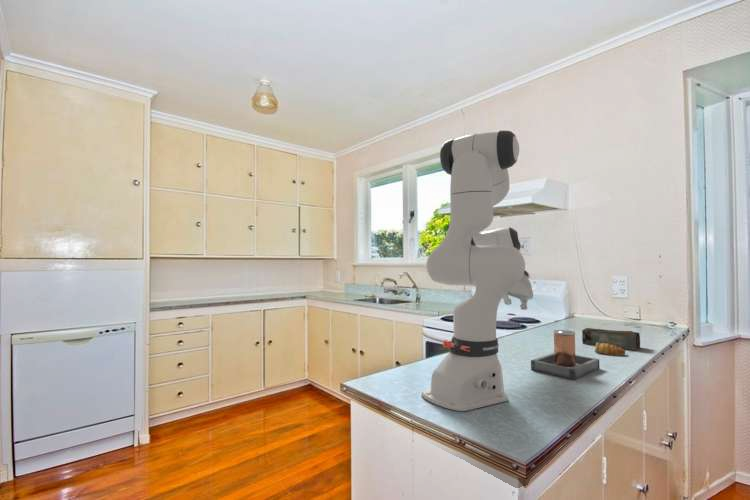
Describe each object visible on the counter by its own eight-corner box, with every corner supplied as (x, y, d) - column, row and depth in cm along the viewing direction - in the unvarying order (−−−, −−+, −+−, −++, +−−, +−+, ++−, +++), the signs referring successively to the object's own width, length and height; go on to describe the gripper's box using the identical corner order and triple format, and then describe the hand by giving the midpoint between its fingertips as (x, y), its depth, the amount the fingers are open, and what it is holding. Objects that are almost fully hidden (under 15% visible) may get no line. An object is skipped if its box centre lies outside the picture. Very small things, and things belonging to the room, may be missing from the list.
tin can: (570, 370, 111) (569, 334, 111) (550, 365, 115) (550, 331, 116) (579, 366, 114) (578, 331, 115) (559, 362, 119) (558, 329, 120)
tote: (573, 380, 104) (573, 369, 104) (531, 369, 114) (530, 360, 114) (599, 368, 115) (599, 359, 115) (558, 360, 125) (558, 351, 125)
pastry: (625, 353, 134) (625, 343, 134) (625, 358, 128) (624, 347, 128) (596, 350, 139) (595, 340, 139) (594, 354, 134) (594, 343, 134)
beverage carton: (586, 341, 155) (585, 325, 156) (641, 348, 142) (640, 331, 143) (581, 344, 149) (581, 328, 150) (638, 351, 137) (638, 334, 137)
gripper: (498, 260, 125) (506, 298, 118) (531, 274, 136) (540, 309, 129) (483, 267, 129) (490, 303, 122) (517, 280, 140) (525, 314, 133)
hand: (516, 306), depth 126 cm, fingers open, 8 cm apart
